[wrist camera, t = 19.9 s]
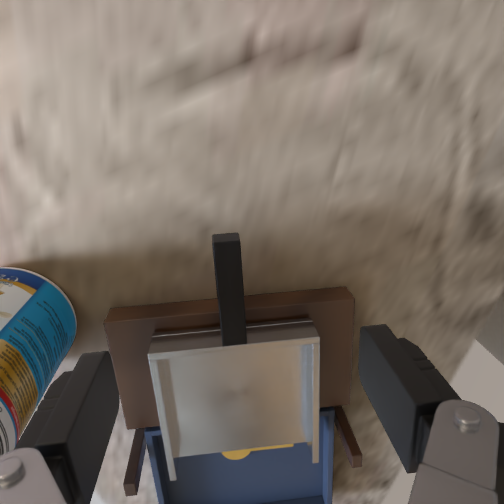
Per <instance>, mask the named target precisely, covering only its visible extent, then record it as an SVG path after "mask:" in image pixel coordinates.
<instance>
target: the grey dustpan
mask: <svg viewBox="0 0 504 504" xmlns="http://www.w3.org/2000/svg"><path fill="white" fill-rule="evenodd" d="M212 245H213V256H214V266H215V276H216V287H217V297H218V307H219V317H220V326H219V327H209V328H199V329H189V330H178V331H168V332H158V333H153V335H152V339H151V343H150V346H149V350H148V354H147V355H148V360H149V366H150V371H151V377H152V382H153V388H154V394H155V399H156V405H157V410H158V416H159V421H160V427H161V433H162V438H163V444H164V449H165V455H166V461H167V466H168V472H169V477H170V481H175V480H177V473H178V462H179V457H185V456H193V455H202V454H210V453H218V452H227V451H235V450H244V449H252V448H260V447H269V446H277V445H286V444H294V443H302V442H307V445H308V449H309V452H310V456H311V460H312V463H319V383H320V336H319V334H318V332H317V330H316V327H315V325H314V323H313V321H312V319H311V318H301V319H291V320H280V321H270V322H260V323H250V324H246V317H245V303H244V289H243V275H242V260H241V246H240V238H239V234H238V233H226V234H214V235H213V236H212Z"/></svg>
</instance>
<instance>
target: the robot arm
mask: <svg viewBox="0 0 504 504" xmlns="http://www.w3.org/2000/svg"><path fill="white" fill-rule="evenodd" d="M358 369H359V376H360V380H361V383H362V386H363V388H364V390H365V392H366V394H367V396H368V398H369V400H370V402H371V404H372V406H373V407H374V409H375V411H376V413H377V415H378V417H379V419H380V421H381V423H382V425H383V427H384V429H385V431H386V433H387V435H388V437H389V439H390V441H391V442H392V444H393V446H394V448H395V450H396V452H397V454H398V456H399V458H400V460H401V462H402V464H403V466H404V468H405V470H406V472H407V473H415V472H417V473H416V476H415V480H414V484H413V487H412V491H411V495H410V498H409V502H408V504H504V423H500V422H497V420H496V419H495V417H494V416H493V415H492V414H491V413H489V412H488V411H487V410H486V409H484V408H482V407H481V406H479V405H477V404H475V403H472V402H468V401H465V400H462V399H461V398H460V397H459V396H458V395H457V393H456V392H455V391H454V390H453V388H452V387H451V386H450V385H449V384H448V382H447V381H446V380H445V379H444V378H443V376H442V375H441V374H440V373H439V371H438V370H437V369H435V367H434V365H433V364H432V363H431V362H430V360H428V359H427V357H426V356H425V354H424V353H423V352H422V351H421V349H420V348H419V347H418V346H416V345H415V344H413V343H411V342H410V341H408V340H407V339H405V338H399V339H397V338H396V337H395V335H394V334H393V333H392V331H391V330H390V329H389V327H388V326H387V325H386V324H381V325H371V326H362V327H361V330H360V342H359V363H358ZM118 409H119V390H118V385H117V381H116V376H115V372H114V368H113V363H112V359H111V355H110V353H109V352H108V351H103V352H93V353H83V354H82V355H81V356H80V358H79V360H78V362H77V364H76V366H75V368H74V370H73V371H68V372H64V373H63V374H62V375H61V376H60V377H59V378H57V379H56V380H55V381H54V382H53V383H52V384H51V385H50V387H49V389H48V391H47V392H46V394H45V396H44V400H42V401H41V403H40V405H39V406H38V410H37V411H36V412H35V413H34V415H33V417H32V419H31V420H30V422H29V424H28V426H27V427H26V429H25V431H24V433H23V434H22V436H21V438H20V440H19V441H18V443H17V445H16V447H15V448H14V450H12V451H9V452H7V453H5V454H3V455H1V456H0V504H90V501H91V498H92V494H93V491H94V488H95V485H96V482H97V478H98V475H99V472H100V469H101V465H102V462H103V459H104V456H105V452H106V449H107V446H108V443H109V439H110V436H111V433H112V430H113V427H114V423H115V420H116V417H117V414H118Z"/></svg>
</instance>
